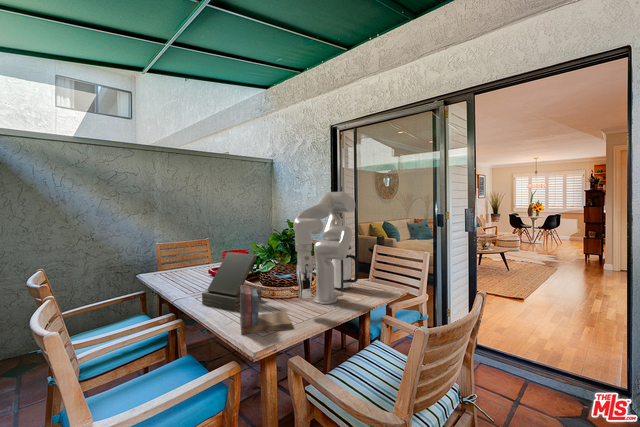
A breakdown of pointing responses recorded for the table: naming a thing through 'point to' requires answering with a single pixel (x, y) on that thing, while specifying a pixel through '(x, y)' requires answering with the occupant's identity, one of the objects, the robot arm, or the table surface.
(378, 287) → the table surface
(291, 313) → the table surface
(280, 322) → the bookend with books
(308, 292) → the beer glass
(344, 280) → the coffee press
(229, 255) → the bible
